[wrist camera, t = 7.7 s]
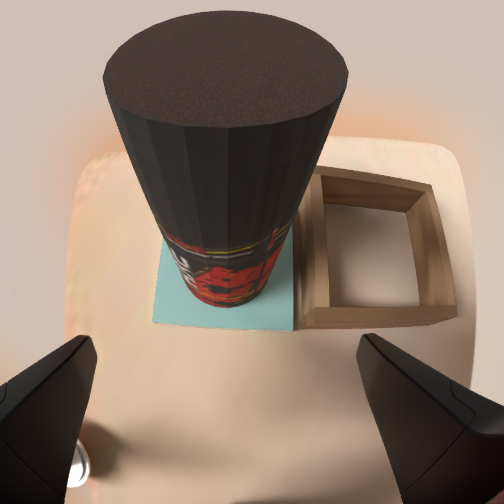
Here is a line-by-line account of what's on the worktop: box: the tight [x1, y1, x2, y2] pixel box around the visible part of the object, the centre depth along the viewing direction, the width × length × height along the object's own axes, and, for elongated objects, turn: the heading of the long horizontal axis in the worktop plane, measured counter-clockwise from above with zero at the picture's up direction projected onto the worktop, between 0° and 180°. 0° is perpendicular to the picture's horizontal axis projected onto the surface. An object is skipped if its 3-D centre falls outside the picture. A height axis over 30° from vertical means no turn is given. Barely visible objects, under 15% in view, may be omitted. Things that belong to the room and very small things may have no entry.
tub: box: [299, 165, 457, 329], centre depth 20 cm, size 11×11×4 cm
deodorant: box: [103, 11, 349, 308], centre depth 13 cm, size 6×6×15 cm
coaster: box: [152, 225, 293, 332], centre depth 20 cm, size 9×9×1 cm
